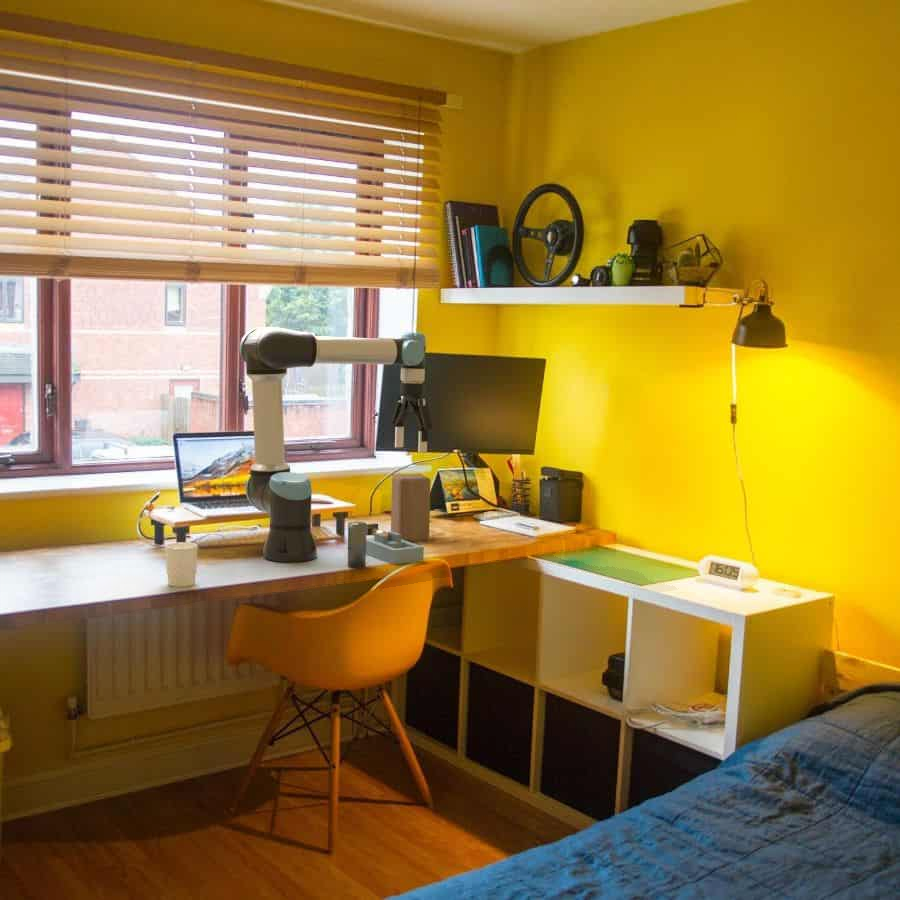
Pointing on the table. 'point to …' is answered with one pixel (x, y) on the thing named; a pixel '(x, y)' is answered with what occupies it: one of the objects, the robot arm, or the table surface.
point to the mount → (393, 549)
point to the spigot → (356, 544)
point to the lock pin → (375, 530)
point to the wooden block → (410, 506)
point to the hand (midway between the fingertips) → (410, 449)
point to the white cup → (181, 563)
